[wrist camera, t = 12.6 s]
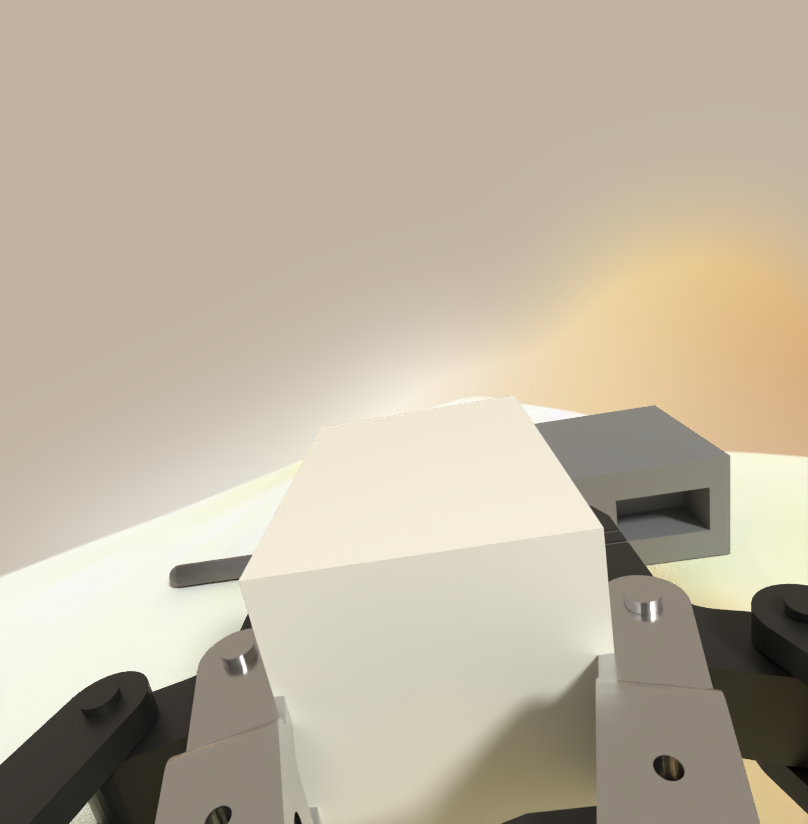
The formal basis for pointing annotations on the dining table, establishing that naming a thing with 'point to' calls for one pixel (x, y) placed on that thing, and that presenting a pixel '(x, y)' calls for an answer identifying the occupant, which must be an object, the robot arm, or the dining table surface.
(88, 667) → the dining table surface
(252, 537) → the dining table surface
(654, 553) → the socket strip
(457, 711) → the plug
